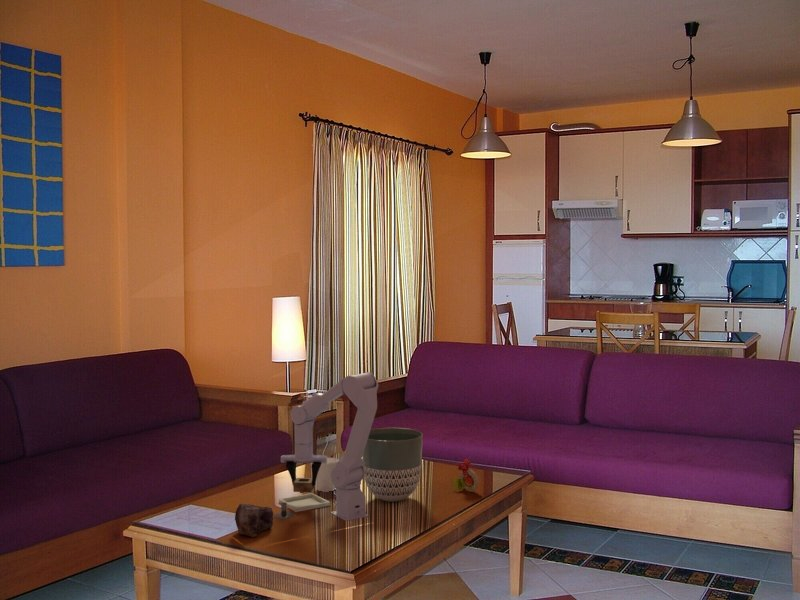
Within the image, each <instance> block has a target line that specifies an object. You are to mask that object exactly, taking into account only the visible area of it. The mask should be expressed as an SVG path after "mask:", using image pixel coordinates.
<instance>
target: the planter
mask: <svg viewBox="0 0 800 600" xmlns="http://www.w3.org/2000/svg"><path fill="white" fill-rule="evenodd" d="M423 435H424V433H423V432H421V431H419V430H417V429H412V428H407V427H404V428H403V427H382V428H379V427H378V428H373V429H372V428H371V430H370V433H369V436H368V440H367V443H366V446H365V449H364V453H363V456H362V459H363V460H364V462H365V466H364V471H365V475H364V478H363V479H364V482H365V484H366V486H367V489H368V490H369V491H370V493H371V494H372V495H373V496H374V497H376V498H377V499H379V500H381V501H383V502H390V503H391V502H392V503H393V502H400V501H404V500H405V499H407V498H409V497H410V496H411V495H412V494H413V493H414V492H415V491H416V490H417V488H418V485H419V483H420V480H421V475H422V473H421V471H422V458H423V457H422V456H423V454H422V453H423V442H424V441H423Z"/></svg>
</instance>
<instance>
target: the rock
mask: <svg viewBox="0 0 800 600" xmlns="http://www.w3.org/2000/svg"><path fill="white" fill-rule="evenodd" d="M273 515H274V511H273V508H272V507H268V506H265V507H264V506H258V505H254V504H249V503H248V504H247V503H239V504H238V506H237V508H236V510H235V514H234V522H235V525H236V528H237V532H238V533H239V534H240V535H245V536H246V537H249V536H251V537H250V538H256V537H257V535H258V534H260V533H263V531H266V530H268V529H272V528H273V525H274V522H273V521H274V517H273Z"/></svg>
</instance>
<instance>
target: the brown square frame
mask: <svg viewBox="0 0 800 600" xmlns="http://www.w3.org/2000/svg"><path fill="white" fill-rule="evenodd" d="M292 487H293V492H294V493H299V494H304V493H313V492H312V491H314V488H315V486H312V477H296V480H295V481H294V482H293V484H292Z"/></svg>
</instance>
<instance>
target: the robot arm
mask: <svg viewBox="0 0 800 600" xmlns="http://www.w3.org/2000/svg"><path fill="white" fill-rule="evenodd" d="M378 389H379V382H378V380H377V379H376V377H375V375H374V374H373V373H371V372H368V371H365V372H363V373H358V374H353V375H347V376H345V378H341V379H340V380H339V381H338V382H336V383H335V384H333V386H332V387H330V388H329V389H328V390H326V391H325V392H324V393H322V392H314V393H313V394H311V397H310V398H308V399H307V400H304V401H302V404H300V405H294V406H293V407H292V408H291V410H290V414H289V415H290V419H291V421H292V422H293V424H294V425H293V426H294V427H293V428H294V454H283V455H281V456H280V463H286V464H285V467H286V469H287V472H288V473H289V476H290V478H291V479H290V480H291V482H292V484H291V485H293V482H294V481H295V480H296V479H297V463H309V464H311V463H312V464H311V473H312V474H311V478H312V486H314V487H315V486H316V485H317V481H316V478H317V474H318V471H319V469H320V466H321V464H322V463H327V458H328V455H318V454H317V455H316V454H314V443H313V442H314V439H313V437H314V434H313V433H314V432H313V431H314V426H315V425H314V424H315V420H316V419H317V416H320V414H322V413H323V412H325V411H327V410H328V409H329V407H330V404H331V403H332V402H333V401H335V400H337V399H338V398H340V397H341V396H343V395H346V397H347V398H348V399H349V400H350V401H351V403H352V404H353V405H354V406H355V407H356V408H357V411H356V413H355V417H354V421H353V424H352V426H351V430H350V433H349V437H348V441H347V444H346V448H345V450H344V454H343V455H342V456H341V457H340V458H339V459H338V460H339V461H338V462H337V465H336V467H335V468H334V469H333V470H332V472H331V480H332V483H333V484H334V485H335V488H336V491H335V494H336V495H335V496H336V497H335V498H336V499H335V501H336V502H335V506H336V508H335V510H334V511H331V512H330V514H332V515H333V516H335V517H337V518H339V519H341V520H344V521H352V520H358V519H362V518H369V515H368V514H367V512H366V509H367V508H366V506H367V505H366V504H367V503H366V500H367V499H366V495H365V493H364V492H363V491H362V490H361V485H362V481H363V479H365V478H364V475H365V471H364V466H365V462H364V460H363V453H364V449H365V446H366V443H367V440H368V436H369V433H370V430H372V426H373V423H374V420H375V417H376V414H377V409H378V397H377V396H378V395H377V392H378Z"/></svg>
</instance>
